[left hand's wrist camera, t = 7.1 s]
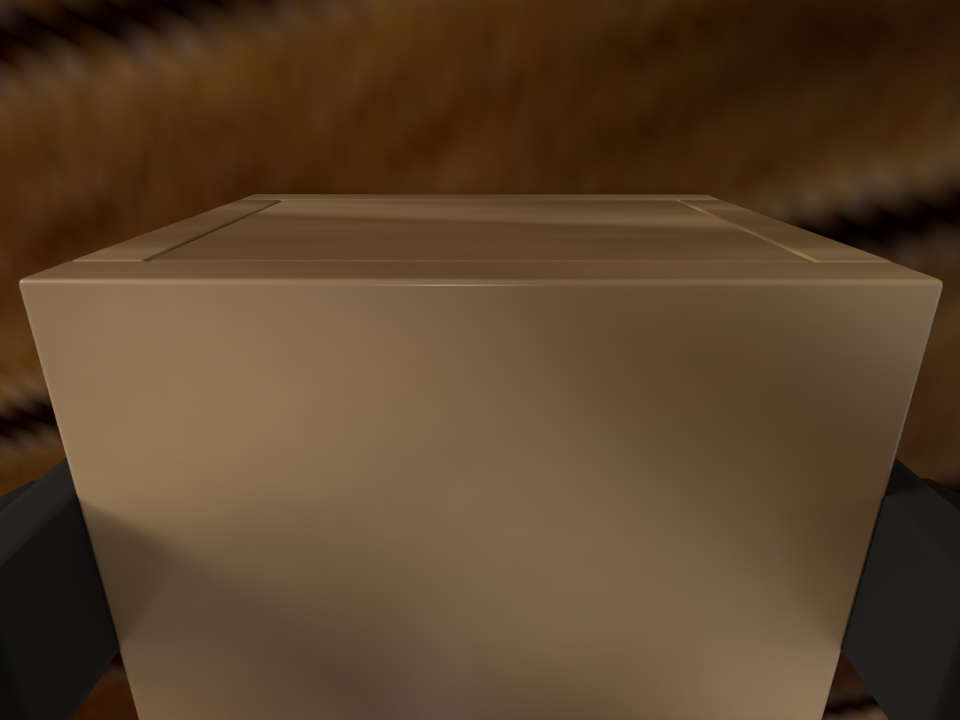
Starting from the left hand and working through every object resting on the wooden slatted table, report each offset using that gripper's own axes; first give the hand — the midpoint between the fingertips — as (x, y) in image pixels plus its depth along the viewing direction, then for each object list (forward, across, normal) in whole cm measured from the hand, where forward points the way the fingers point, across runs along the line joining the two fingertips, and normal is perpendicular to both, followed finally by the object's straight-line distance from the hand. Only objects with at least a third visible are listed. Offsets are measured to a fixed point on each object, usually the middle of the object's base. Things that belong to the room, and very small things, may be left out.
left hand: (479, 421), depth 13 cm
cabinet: (+3, 0, -4) cm, 5 cm away
